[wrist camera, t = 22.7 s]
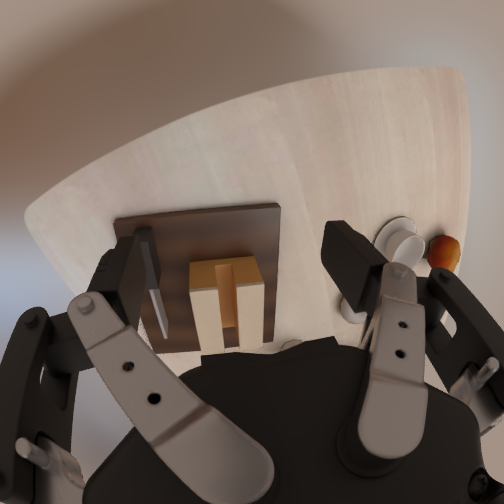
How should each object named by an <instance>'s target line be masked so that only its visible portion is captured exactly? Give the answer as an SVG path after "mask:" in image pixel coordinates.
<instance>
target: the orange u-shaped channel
mask: <svg viewBox="0 0 504 504" xmlns="http://www.w3.org/2000/svg"><path fill="white" fill-rule="evenodd" d="M189 293H190V299H191V304H192V309H193V314H194V319H195V324H196V329H197V334H198V339H199V343H200V348H201V352H202V355H205V354H215V353H224V352H225V348H224V340H223V332H222V328H225V327H234V326H235V328H236V333H237V338H238V343H239V348H240V350H248V349H255V348H261V347H263V319H264V282H263V279H262V276H261V273H260V270H259V268H258V265H257V262H256V259H255V256H247V257H237V258H227V259H217V260H207V261H197V262H190V270H189Z"/></svg>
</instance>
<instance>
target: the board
mask: <svg viewBox="0 0 504 504" xmlns="http://www.w3.org/2000/svg"><path fill="white" fill-rule="evenodd" d="M280 212H281V207H280V206H279V204H278V203H272V204H257V205H243V206H231V207H219V208H207V209H197V210H187V211H177V212H168V213H159V214H151V215H142V216H135V217H127V218H119V219H116V220H115V222H114V223H113V225H114V229H115V233H116V237H117V241H118V240H119V238H120V237H121V236H130V235H133V232H134V230H135V229H138V228H146V227H152V229H153V234H154V239H155V244H156V249H157V254H158V259H159V264H160V268H161V276H160V283H159V291H160V295H161V298H162V302H163V306H164V309H165V313H166V317H167V320H168V336H167V338H166V339H164V336H163V333H162V330H161V327H160V324H159V321H158V317H157V314H156V311H155V308H154V304H153V301H152V298H151V294H150V291H149V290H144V295H143V301H142V306H141V312H140V317H141V319H142V322H143V325H144V328H145V330H146V333H147V336H148V338H149V341H150V343H151V346H152V348H153V351H154V353H155V354H162V353H177V352H190V351H201V348H200V343H199V339H198V334H197V329H196V324H195V319H194V314H193V309H192V304H191V299H190V293H189V270H190V262H197V261H207V260H217V259H227V258H237V257H247V256H255V259H256V262H257V265H258V268H259V270H260V273H261V276H262V279H263V282H264V319H263V343H266V342H273V337H274V323H275V308H276V292H277V275H278V256H279V236H280ZM222 332H223V340H224V348H230V347H238V346H239V343H238V338H237V333H236V328H235V326H234V327H225V328H222Z"/></svg>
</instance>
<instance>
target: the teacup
mask: <svg viewBox="0 0 504 504" xmlns="http://www.w3.org/2000/svg"><path fill="white" fill-rule="evenodd" d="M374 246H375V248H377V249H378V250H379V251H380V252H381V254H382V255H383V256H384V257H385V258H386V259H387V260H388V261H389V262H398V263H401V264H404V265H406V266H408V267H409V268H411V269H413V268H414V267H415V266H416V265H417V264H418V263H419V262H420V260H421V258H422V256H423V254H424V250H425V243H424V240H423V238H422V237H421V236H419V235H417V234H416V227H415V225H414V223H413V222H412V221H411V220H410V219H408V218H405V217H401V218H397V219H394V220H392V221H391V222H389V223H388V224H387V225H386V226H385V227H384V228H383V229H382V230H381V232H380V233H379V235H378V236H377V238H376V241H375V244H374Z"/></svg>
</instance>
